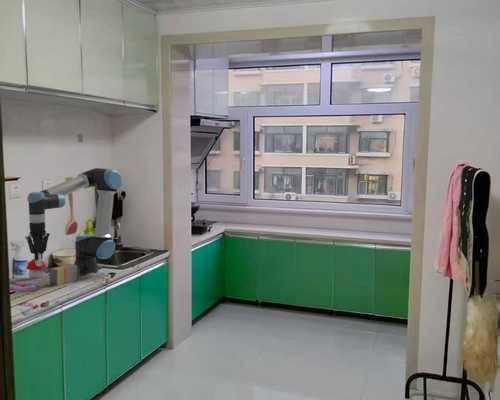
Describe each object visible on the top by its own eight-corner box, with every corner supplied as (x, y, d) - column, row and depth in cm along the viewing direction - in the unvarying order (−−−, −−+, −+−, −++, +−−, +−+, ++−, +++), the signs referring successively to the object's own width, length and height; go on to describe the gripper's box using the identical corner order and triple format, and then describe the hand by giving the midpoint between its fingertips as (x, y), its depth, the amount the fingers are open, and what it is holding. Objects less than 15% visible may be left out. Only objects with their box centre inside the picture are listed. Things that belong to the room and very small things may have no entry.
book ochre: (52, 284, 259) (52, 268, 258) (60, 282, 263) (60, 266, 262) (56, 285, 256) (56, 269, 256) (64, 283, 261) (64, 267, 260)
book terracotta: (65, 280, 266) (65, 265, 266) (71, 282, 264) (71, 266, 263) (59, 282, 263) (59, 266, 262) (65, 283, 260) (65, 267, 260)
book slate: (71, 279, 270) (71, 263, 269) (77, 280, 267) (77, 265, 266) (65, 280, 266) (65, 265, 266) (71, 282, 264) (71, 266, 263)
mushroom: (27, 276, 275) (26, 256, 274) (47, 275, 279) (47, 255, 278) (25, 281, 266) (25, 260, 264) (46, 280, 269) (46, 260, 268)
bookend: (51, 283, 259) (51, 268, 258) (57, 285, 256) (57, 269, 255) (45, 285, 256) (45, 269, 255) (51, 287, 253) (51, 270, 252)
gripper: (44, 219, 253) (45, 261, 256) (21, 222, 242) (23, 267, 245) (52, 220, 249) (54, 264, 252) (30, 224, 238) (31, 269, 241)
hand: (38, 265), depth 248 cm, fingers closed
